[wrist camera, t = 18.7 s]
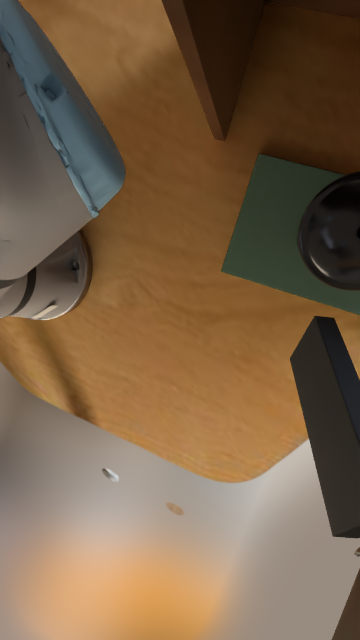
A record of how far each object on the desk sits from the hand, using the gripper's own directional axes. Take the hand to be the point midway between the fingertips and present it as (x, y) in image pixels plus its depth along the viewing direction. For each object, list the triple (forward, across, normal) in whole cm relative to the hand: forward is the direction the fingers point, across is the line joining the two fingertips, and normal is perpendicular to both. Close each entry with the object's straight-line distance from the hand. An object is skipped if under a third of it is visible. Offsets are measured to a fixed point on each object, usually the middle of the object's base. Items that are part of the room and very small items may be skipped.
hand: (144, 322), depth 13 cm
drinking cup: (+22, +16, -8) cm, 28 cm away
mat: (+22, +16, -8) cm, 28 cm away
